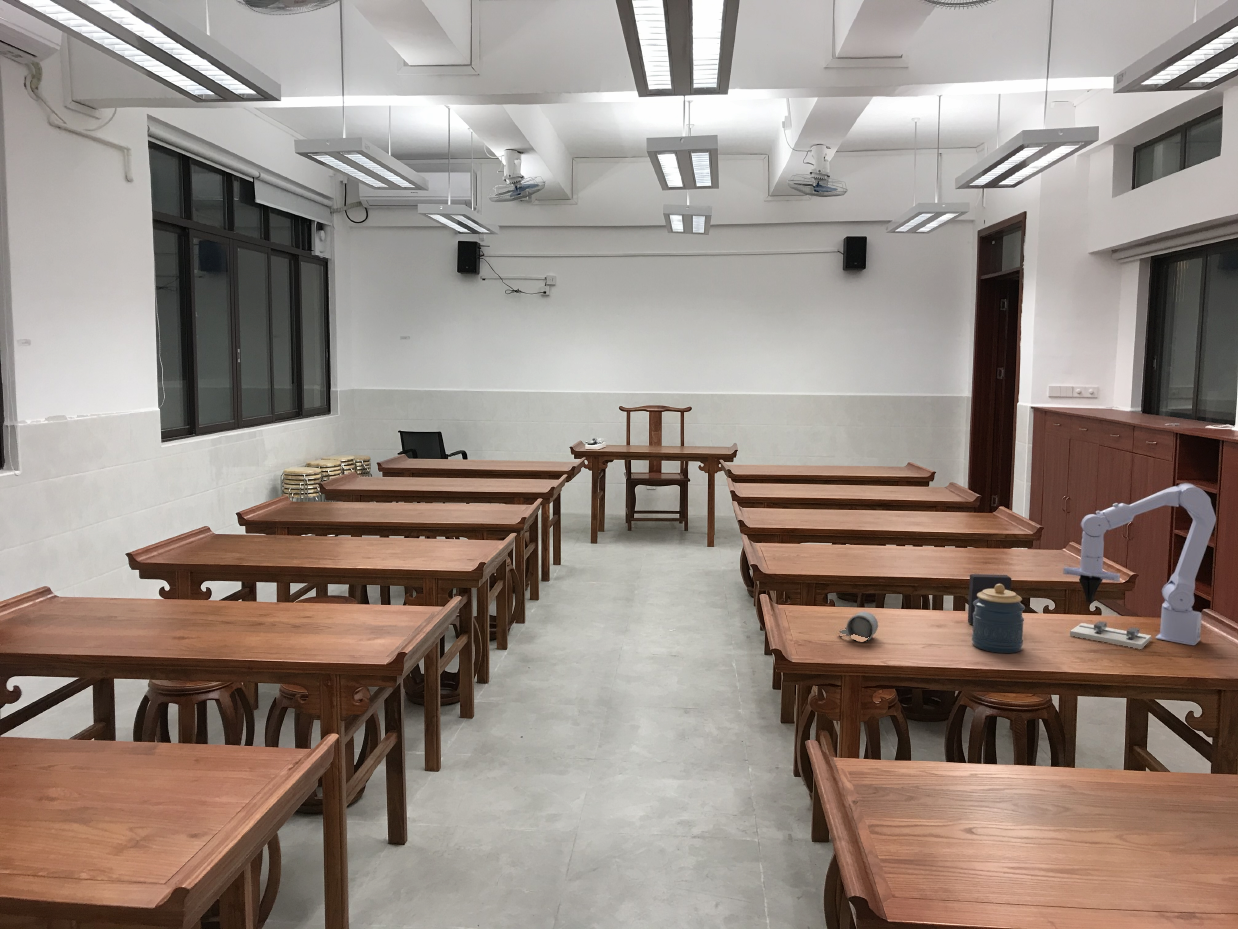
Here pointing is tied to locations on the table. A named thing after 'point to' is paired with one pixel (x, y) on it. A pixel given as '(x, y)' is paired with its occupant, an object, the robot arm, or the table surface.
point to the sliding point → (1100, 626)
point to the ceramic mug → (861, 625)
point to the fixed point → (1132, 632)
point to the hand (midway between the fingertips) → (1089, 601)
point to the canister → (998, 621)
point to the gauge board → (1110, 636)
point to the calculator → (981, 583)
